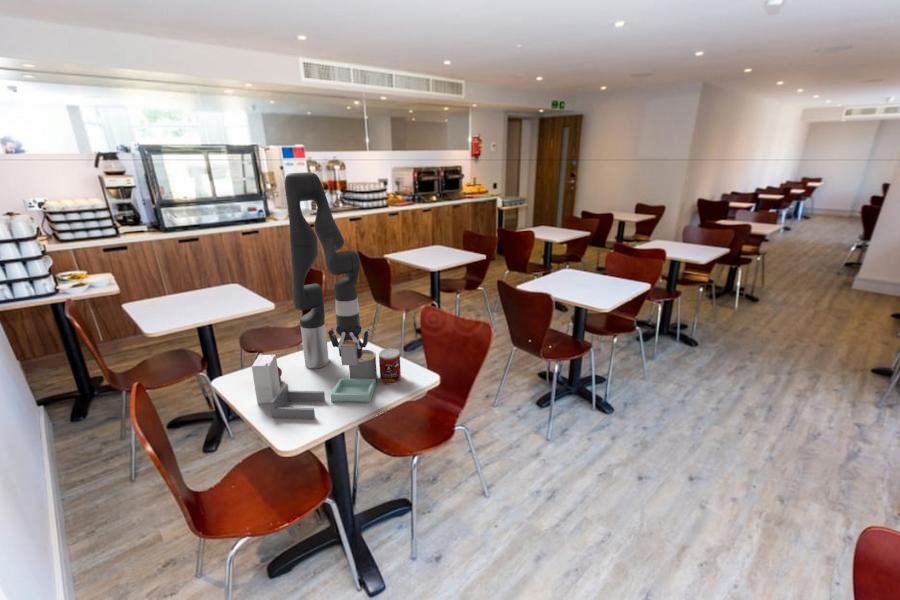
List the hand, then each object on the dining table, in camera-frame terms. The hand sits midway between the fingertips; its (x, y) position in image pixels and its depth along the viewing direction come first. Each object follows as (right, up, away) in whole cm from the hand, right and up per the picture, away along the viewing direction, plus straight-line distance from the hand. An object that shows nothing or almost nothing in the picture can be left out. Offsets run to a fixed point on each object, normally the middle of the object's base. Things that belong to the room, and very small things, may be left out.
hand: (351, 357), depth 144 cm
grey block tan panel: (0, -1, 0) cm, 1 cm away
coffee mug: (+1, -10, +16) cm, 19 cm away
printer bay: (-16, -17, -4) cm, 24 cm away
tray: (0, -14, +5) cm, 14 cm away
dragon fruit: (-33, -11, +12) cm, 37 cm away
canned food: (+12, -10, +15) cm, 21 cm away
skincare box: (-29, -15, +2) cm, 33 cm away
